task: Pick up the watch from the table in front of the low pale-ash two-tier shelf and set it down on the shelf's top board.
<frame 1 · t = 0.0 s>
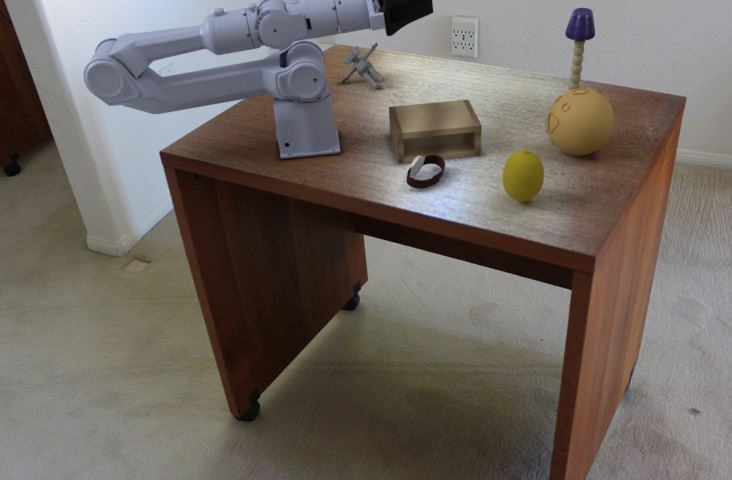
gray toy figurine: (367, 82, 142), on the table
shelf: (434, 145, 119), on the table
stress ball: (576, 153, 115), on the table
toy lamp: (571, 111, 127), on the table
lemon: (521, 203, 104), on the table
watch: (426, 181, 111), on the table
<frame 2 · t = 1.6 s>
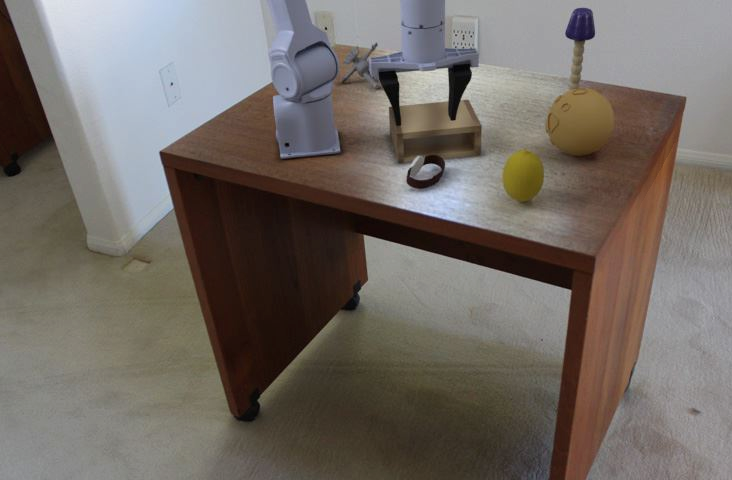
hand: (425, 120, 105), 9 cm above the table, tool pointing down, fingers open, 7 cm apart
nothing on the table moved.
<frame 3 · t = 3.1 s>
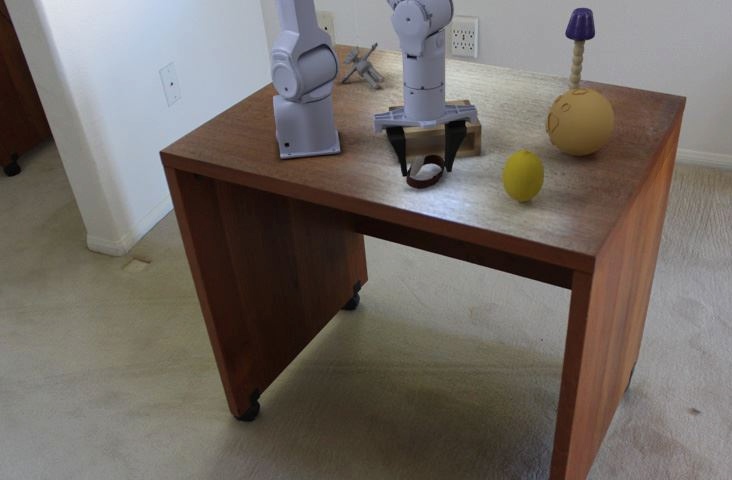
hand: (426, 171, 110), 1 cm above the table, tool pointing down, fingers closed on watch, 6 cm apart
watch: (426, 181, 111), on the table, touching gripper
everything else where it was.
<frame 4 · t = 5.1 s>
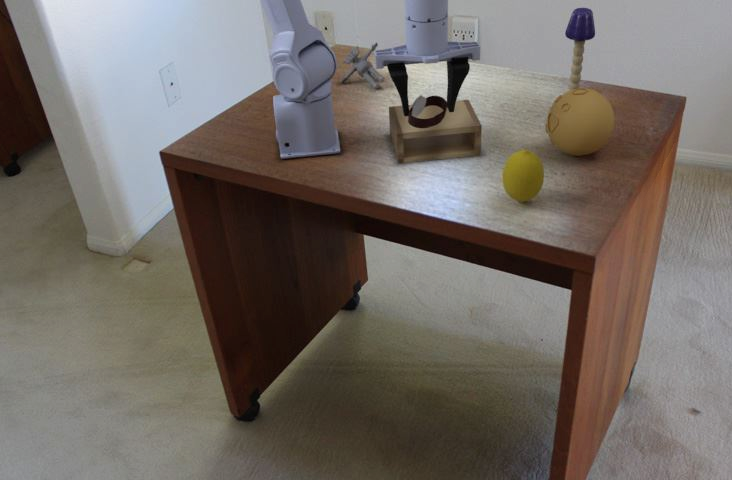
hand: (428, 111, 108), 9 cm above the table, tool pointing down, fingers closed on watch, 6 cm apart
watch: (428, 122, 109), point 7 cm above the table, touching gripper
everything else where it was.
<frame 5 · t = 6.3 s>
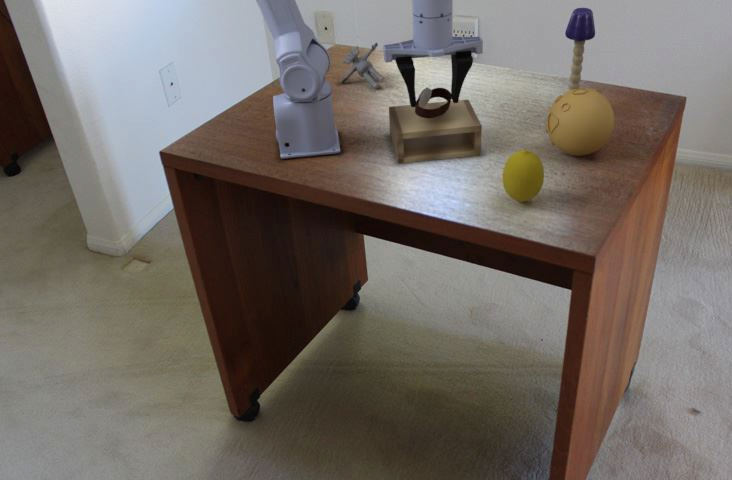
hand: (433, 102, 115), 7 cm above the table, tool pointing down, fingers closed on watch, 6 cm apart
watch: (433, 112, 116), point 6 cm above the table, touching gripper
everything else where it was.
when the fingers open (6 cm above the table, at t = 7.1 s): watch stays where it is, resting on shelf.
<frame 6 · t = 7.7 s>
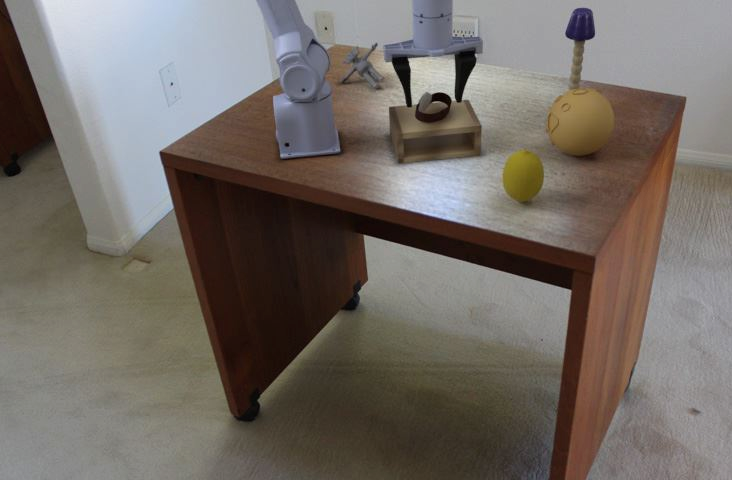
hand: (433, 102, 115), 7 cm above the table, tool pointing down, fingers open, 7 cm apart
watch: (433, 117, 116), point 5 cm above the table, touching shelf
everything else where it was.
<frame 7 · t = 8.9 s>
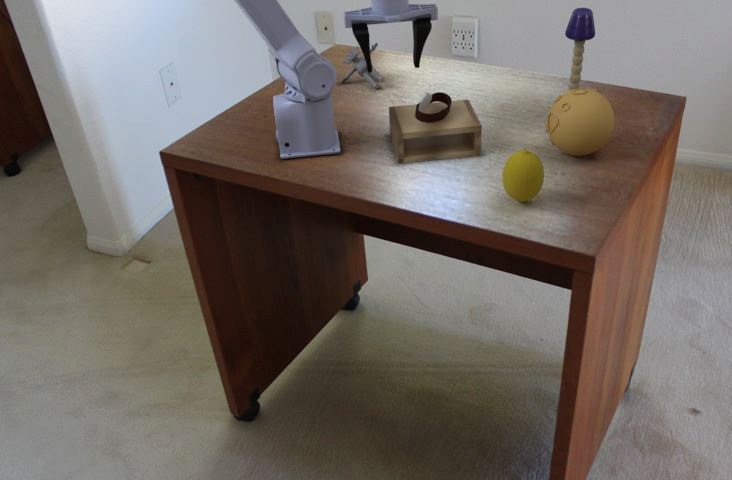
hand: (393, 67, 121), 9 cm above the table, tool pointing down, fingers open, 7 cm apart
nothing on the table moved.
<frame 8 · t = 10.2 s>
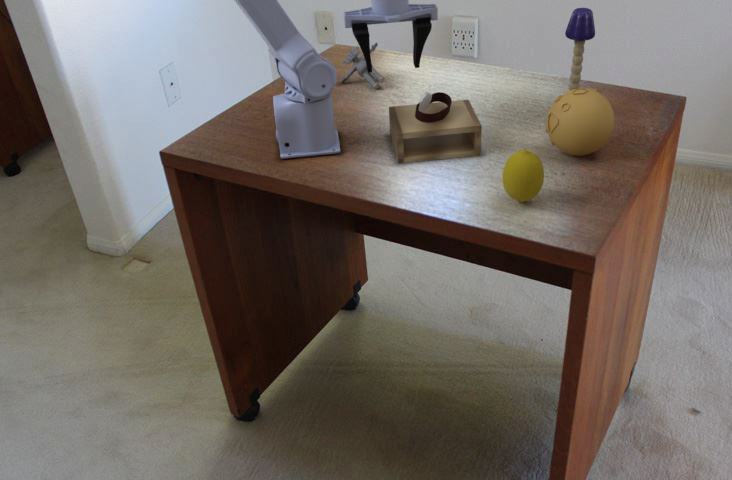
hand: (393, 67, 121), 9 cm above the table, tool pointing down, fingers open, 7 cm apart
nothing on the table moved.
at the end: watch inside the target area on the shelf (0.0 cm from its centre), point 4.8 cm above the shelf's base; watch touching shelf; the gripper is holding nothing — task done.
